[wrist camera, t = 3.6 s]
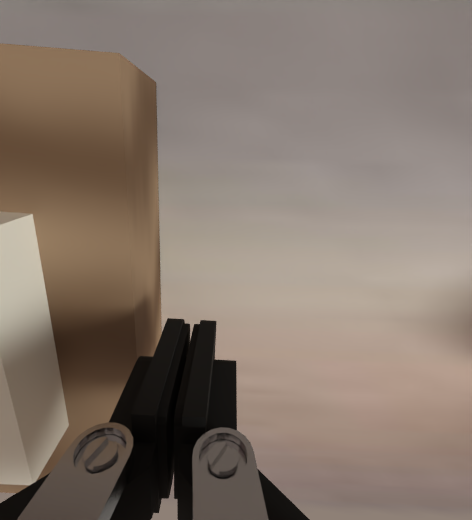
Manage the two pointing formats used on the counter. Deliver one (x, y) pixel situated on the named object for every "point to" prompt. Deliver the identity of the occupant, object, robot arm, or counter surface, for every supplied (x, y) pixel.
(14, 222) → the cream rectangular block
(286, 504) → the robot arm
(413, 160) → the counter surface
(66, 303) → the wooden box
